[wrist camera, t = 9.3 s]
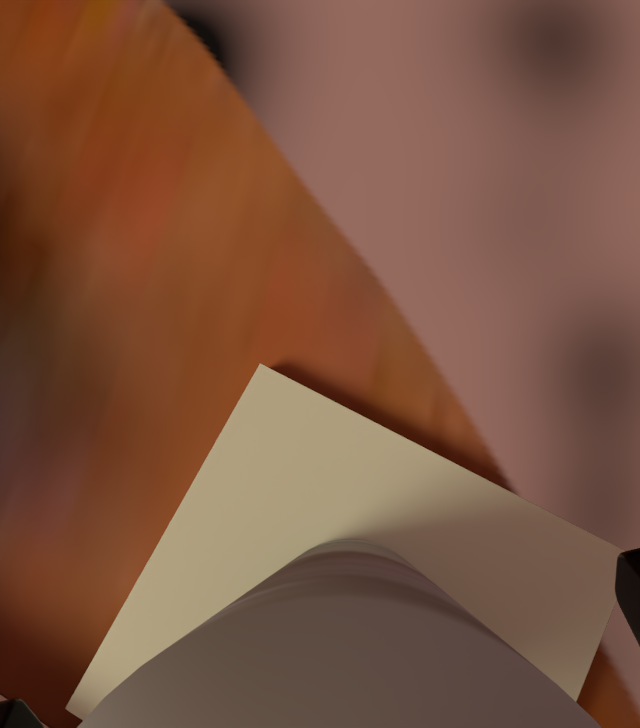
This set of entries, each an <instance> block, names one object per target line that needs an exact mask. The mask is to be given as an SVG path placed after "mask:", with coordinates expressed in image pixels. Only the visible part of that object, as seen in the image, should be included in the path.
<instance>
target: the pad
mask: <svg viewBox="0 0 640 728" xmlns="http://www.w3.org/2000/svg"><path fill="white" fill-rule="evenodd" d="M343 539H355V540H364V541H368V542H373V543H376V544H379V545H381V546H384V547H386V548H388V549H390V550H392V551H393V552H395V553H397V554H398V555H400V556H401V557H402V558H404V559H405V560H406V561H408V562H409V563H410V564H411V565H412V566H414V567H415V568H416V569H417V570H419V571H420V572H421V573H422V574H423V575H425V576H426V577H427V578H428V579H429V580H431V581H432V582H433V583H434V584H436V585H437V586H438V587H439V588H440V589H442V590H443V591H444V592H445V593H446V594H448V595H449V596H450V597H451V598H453V599H454V600H455V601H456V602H457V603H459V604H460V605H461V606H462V607H464V608H465V609H466V610H467V611H468V612H470V613H471V614H472V615H473V616H474V617H476V618H477V619H478V620H479V621H481V622H482V623H483V624H484V625H485V626H487V627H488V628H489V629H490V630H491V631H493V632H494V633H495V634H496V635H498V636H499V637H500V638H501V639H502V640H504V641H505V642H506V643H507V644H509V645H510V646H511V647H512V648H513V649H515V650H516V651H517V652H518V653H519V654H521V655H522V656H523V657H524V658H526V659H527V660H528V661H529V662H530V663H532V664H533V665H534V666H535V667H536V668H538V669H539V670H540V671H541V672H543V673H544V674H545V675H546V676H547V677H549V678H550V679H551V680H552V681H553V682H555V683H556V684H557V685H558V686H559V687H560V688H561V689H563V690H564V691H565V692H566V693H567V694H568V695H569V696H570V697H571V698H572V699H573V700H574V701H575V702H576V701H577V698H578V696H579V693H580V691H581V688H582V686H583V683H584V681H585V678H586V676H587V673H588V671H589V668H590V666H591V663H592V661H593V658H594V656H595V653H596V651H597V648H598V646H599V643H600V641H601V638H602V636H603V633H604V631H605V628H606V626H607V623H608V621H609V618H610V616H611V613H612V611H613V608H614V606H615V603H616V601H617V598H616V594H615V577H616V565H617V557H618V555H619V554H620V553H622V552H625V550H623V549H621V548H619V547H617V546H615V545H613V544H611V543H609V542H607V541H605V540H603V539H601V538H599V537H598V536H596V535H594V534H591V533H590V532H588V531H585V530H584V529H582V528H580V527H578V526H576V525H574V524H572V523H570V522H568V521H566V520H564V519H562V518H560V517H559V516H556V515H554V514H553V513H551V512H549V511H547V510H545V509H543V508H541V507H539V506H537V505H535V504H533V503H531V502H529V501H527V500H525V499H523V498H521V497H520V496H518V495H516V494H514V493H512V492H510V491H508V490H506V489H504V488H502V487H500V486H498V485H496V484H494V483H492V482H490V481H488V480H486V479H484V478H482V477H481V476H479V475H477V474H475V473H473V472H471V471H469V470H467V469H465V468H463V467H461V466H459V465H457V464H455V463H453V462H451V461H449V460H447V459H445V458H443V457H442V456H440V455H438V454H436V453H434V452H432V451H430V450H428V449H426V448H424V447H422V446H420V445H418V444H416V443H414V442H412V441H410V440H408V439H406V438H404V437H402V436H401V435H399V434H397V433H395V432H393V431H391V430H389V429H387V428H385V427H383V426H381V425H379V424H377V423H375V422H373V421H371V420H369V419H367V418H365V417H363V416H362V415H360V414H358V413H356V412H354V411H352V410H350V409H348V408H346V407H344V406H342V405H340V404H338V403H336V402H334V401H332V400H330V399H328V398H326V397H324V396H323V395H321V394H319V393H317V392H315V391H313V390H311V389H309V388H307V387H305V386H303V385H301V384H299V383H297V382H295V381H293V380H291V379H289V378H287V377H285V376H284V375H282V374H280V373H278V372H276V371H274V370H272V369H270V368H268V367H266V366H264V365H262V364H259V366H258V368H257V370H256V372H255V373H254V375H253V377H252V379H251V380H250V382H249V384H248V386H247V387H246V389H245V391H244V393H243V395H242V396H241V398H240V400H239V402H238V403H237V405H236V407H235V409H234V410H233V412H232V414H231V416H230V418H229V419H228V421H227V423H226V425H225V426H224V428H223V430H222V432H221V433H220V435H219V437H218V439H217V441H216V442H215V444H214V446H213V448H212V449H211V451H210V453H209V455H208V456H207V458H206V460H205V462H204V464H203V465H202V467H201V469H200V471H199V472H198V474H197V476H196V478H195V479H194V481H193V483H192V485H191V487H190V488H189V490H188V492H187V494H186V495H185V497H184V499H183V501H182V502H181V504H180V506H179V508H178V510H177V511H176V513H175V515H174V517H173V518H172V520H171V522H170V524H169V525H168V527H167V529H166V531H165V533H164V534H163V536H162V538H161V540H160V541H159V543H158V545H157V547H156V548H155V550H154V552H153V554H152V556H151V557H150V559H149V561H148V563H147V564H146V566H145V568H144V570H143V571H142V573H141V575H140V577H139V578H138V580H137V582H136V584H135V586H134V587H133V589H132V591H131V593H130V594H129V596H128V598H127V600H126V601H125V603H124V605H123V607H122V609H121V610H120V612H119V614H118V616H117V617H116V619H115V621H114V623H113V624H112V626H111V628H110V630H109V632H108V633H107V635H106V637H105V639H104V640H103V642H102V644H101V646H100V647H99V649H98V651H97V653H96V655H95V656H94V658H93V660H92V662H91V663H90V665H89V667H88V669H87V670H86V672H85V674H84V676H83V678H82V679H81V681H80V683H79V685H78V686H77V688H76V690H75V692H74V693H73V695H72V697H71V699H70V701H69V702H68V704H67V706H66V708H65V709H66V710H68V711H69V712H71V713H72V714H74V715H75V716H77V717H78V718H80V719H81V720H84V719H85V718H86V717H87V716H88V715H89V714H90V713H91V712H92V711H93V709H94V708H95V707H96V706H97V705H98V704H99V703H100V702H101V701H102V700H103V699H104V697H105V696H107V695H108V694H109V693H110V692H111V691H112V690H114V689H115V688H116V687H117V686H118V685H119V684H121V683H122V682H123V681H124V680H125V679H126V678H128V677H129V676H130V675H131V674H132V673H133V672H135V671H136V670H137V669H138V668H139V667H140V666H142V665H143V664H145V663H146V662H148V661H149V660H150V659H152V658H153V657H155V656H156V655H158V654H159V653H160V652H162V651H163V650H165V649H166V648H168V647H169V646H171V645H172V644H173V643H175V642H176V641H178V640H179V639H181V638H182V637H183V636H185V635H186V634H188V633H189V632H191V631H192V630H193V629H195V628H196V627H198V626H199V625H201V624H202V623H203V622H205V621H206V620H208V619H209V618H211V617H212V616H214V615H215V614H216V613H218V612H219V611H221V610H222V609H224V608H225V607H226V606H228V605H229V604H231V603H232V602H234V601H235V600H236V599H238V598H239V597H241V596H242V595H244V594H245V593H246V592H248V591H249V590H251V589H252V588H254V587H255V586H257V585H258V584H259V583H261V582H262V581H264V580H265V579H267V578H268V577H269V576H271V575H272V574H274V573H275V572H277V571H278V570H279V569H281V568H282V567H284V566H285V565H287V564H288V563H289V562H291V561H292V560H294V559H295V558H297V557H298V556H300V555H301V554H303V553H304V552H306V551H307V550H309V549H311V548H313V547H315V546H317V545H320V544H323V543H326V542H330V541H335V540H343Z"/></svg>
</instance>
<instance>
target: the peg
mask: <svg viewBox="0 0 640 728" xmlns="http://www.w3.org/2000/svg"><path fill="white" fill-rule="evenodd" d="M77 728H602V727H601V726H600V725H599V724H598V723H597V721H596V720H595V719H594V718H593V717H592V716H590V715H589V714H588V713H587V712H586V711H585V710H584V709H583V708H582V707H581V706H580V705H579V704H578V703H576V702H575V701H574V700H573V699H572V698H571V697H570V696H569V695H568V694H567V693H566V692H565V691H564V690H563V689H561V688H560V687H559V686H558V685H557V684H556V683H555V682H553V681H552V680H551V679H550V678H549V677H547V676H546V675H545V674H544V673H543V672H541V671H540V670H539V669H538V668H536V667H535V666H534V665H533V664H532V663H530V662H529V661H528V660H527V659H526V658H524V657H523V656H522V655H521V654H519V653H518V652H517V651H516V650H515V649H513V648H512V647H511V646H510V645H509V644H507V643H506V642H505V641H504V640H502V639H501V638H500V637H499V636H498V635H496V634H495V633H494V632H493V631H491V630H490V629H489V628H488V627H487V626H485V625H484V624H483V623H482V622H481V621H479V620H478V619H477V618H476V617H474V616H473V615H472V614H471V613H470V612H468V611H467V610H466V609H465V608H464V607H462V606H461V605H460V604H459V603H457V602H456V601H455V600H454V599H453V598H451V597H450V596H449V595H448V594H446V593H445V592H444V591H443V590H442V589H440V588H439V587H438V586H437V585H436V584H434V583H433V582H432V581H431V580H429V579H428V578H427V577H426V576H425V575H423V574H422V573H421V572H420V571H419V570H417V569H416V568H415V567H414V566H412V565H411V564H410V563H409V562H408V561H406V560H405V559H404V558H402V557H401V556H400V555H398V554H397V553H395V552H393V551H392V550H390V549H388V548H386V547H384V546H381V545H379V544H376V543H373V542H368V541H364V540H355V539H343V540H335V541H330V542H326V543H323V544H320V545H317V546H315V547H313V548H311V549H309V550H307V551H306V552H304V553H303V554H301V555H300V556H298V557H297V558H295V559H294V560H292V561H291V562H289V563H288V564H287V565H285V566H284V567H282V568H281V569H279V570H278V571H277V572H275V573H274V574H272V575H271V576H269V577H268V578H267V579H265V580H264V581H262V582H261V583H259V584H258V585H257V586H255V587H254V588H252V589H251V590H249V591H248V592H246V593H245V594H244V595H242V596H241V597H239V598H238V599H236V600H235V601H234V602H232V603H231V604H229V605H228V606H226V607H225V608H224V609H222V610H221V611H219V612H218V613H216V614H215V615H214V616H212V617H211V618H209V619H208V620H206V621H205V622H203V623H202V624H201V625H199V626H198V627H196V628H195V629H193V630H192V631H191V632H189V633H188V634H186V635H185V636H183V637H182V638H181V639H179V640H178V641H176V642H175V643H173V644H172V645H171V646H169V647H168V648H166V649H165V650H163V651H162V652H160V653H159V654H158V655H156V656H155V657H153V658H152V659H150V660H149V661H148V662H146V663H145V664H143V665H142V666H140V667H139V668H138V669H137V670H136V671H135V672H133V673H132V674H131V675H130V676H129V677H128V678H126V679H125V680H124V681H123V682H122V683H121V684H119V685H118V686H117V687H116V688H115V689H114V690H112V691H111V692H110V693H109V694H108V695H107V696H105V697H104V699H103V700H102V701H101V702H100V703H99V704H98V705H97V706H96V707H95V708H94V709H93V711H92V712H91V713H90V714H89V715H88V716H87V717H86V718H85V719H84V720H83V722H82V723H81V724H80V725H79V726H78V727H77Z"/></svg>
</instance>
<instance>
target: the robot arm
mask: <svg viewBox="0 0 640 728" xmlns="http://www.w3.org/2000/svg"><path fill="white" fill-rule="evenodd" d="M615 594H616V598H617V601H618V603H619V605H620V608H621V610H622V612H623V614H624V615H625V618H626V619H627V622H628V624H629V626H630V628H631V630H632V632H633V634H634V636H635V637H636V640H637V642H638V644H639V646H640V548H638V549H634V550H630V551H625V552H622V553H620V554H619V555H618V557H617V565H616V577H615ZM0 728H44V726H43V724H42V723H41V722H40V720H39V719H38V718H37V717H36V715H35V714H34V713H33V712H32V711H31V709H30V708H29V707H28V706H27V704H26V703H25V702H24V701H23V700H22V699H19V698H12V699H8V700H4V701H0Z"/></svg>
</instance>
